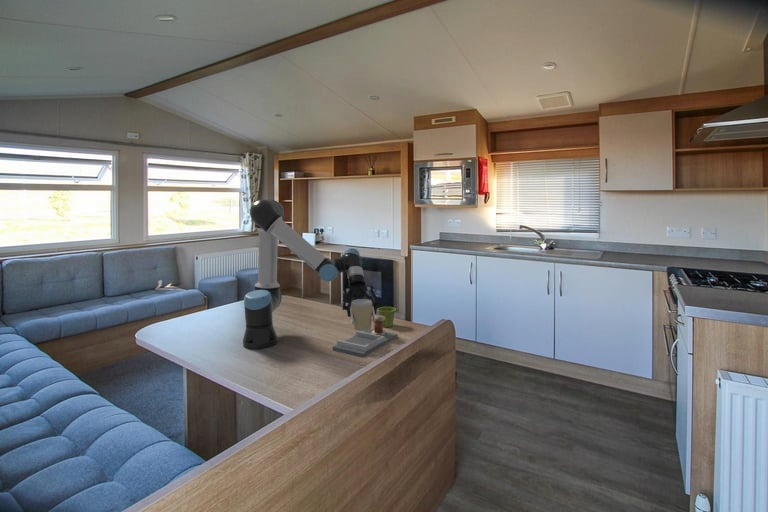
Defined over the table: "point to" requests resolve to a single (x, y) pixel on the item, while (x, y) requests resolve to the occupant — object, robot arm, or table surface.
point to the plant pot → (387, 315)
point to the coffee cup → (362, 314)
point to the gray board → (363, 343)
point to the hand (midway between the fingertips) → (363, 321)
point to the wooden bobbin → (378, 325)
